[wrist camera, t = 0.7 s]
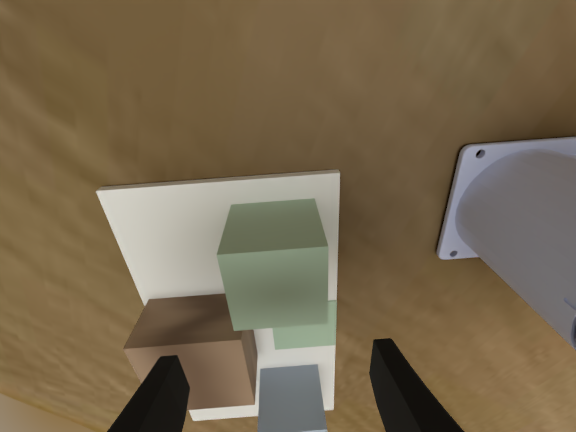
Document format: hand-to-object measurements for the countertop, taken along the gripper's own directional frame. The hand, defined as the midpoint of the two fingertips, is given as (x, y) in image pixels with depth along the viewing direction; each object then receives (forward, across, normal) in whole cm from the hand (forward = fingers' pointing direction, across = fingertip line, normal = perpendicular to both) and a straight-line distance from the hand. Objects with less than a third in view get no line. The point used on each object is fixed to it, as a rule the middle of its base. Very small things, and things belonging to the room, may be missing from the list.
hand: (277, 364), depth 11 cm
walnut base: (+9, +6, +8) cm, 13 cm away
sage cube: (+9, 0, 0) cm, 9 cm away
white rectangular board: (+9, +3, +8) cm, 13 cm away
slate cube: (+9, 0, +16) cm, 18 cm away
